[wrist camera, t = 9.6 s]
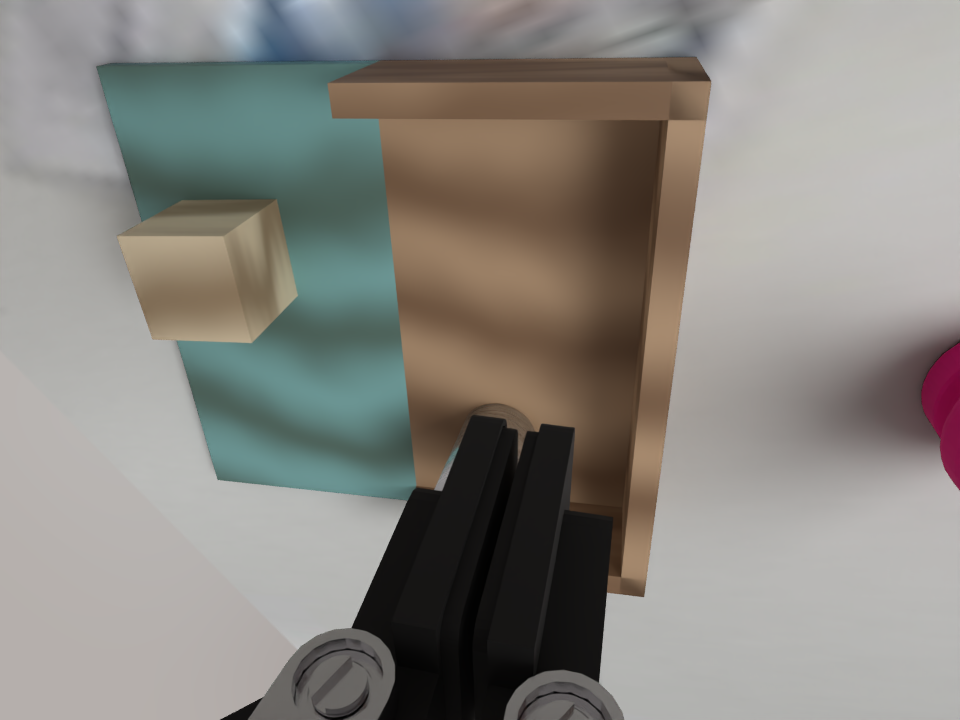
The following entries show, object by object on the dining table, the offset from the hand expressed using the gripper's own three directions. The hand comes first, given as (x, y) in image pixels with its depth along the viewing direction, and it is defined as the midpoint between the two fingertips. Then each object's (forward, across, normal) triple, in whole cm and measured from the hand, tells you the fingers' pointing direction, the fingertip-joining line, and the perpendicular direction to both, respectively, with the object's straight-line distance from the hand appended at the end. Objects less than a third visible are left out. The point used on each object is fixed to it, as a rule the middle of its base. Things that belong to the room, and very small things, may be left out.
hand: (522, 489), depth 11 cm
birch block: (+20, +18, +6) cm, 27 cm away
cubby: (+21, +10, +9) cm, 25 cm away
